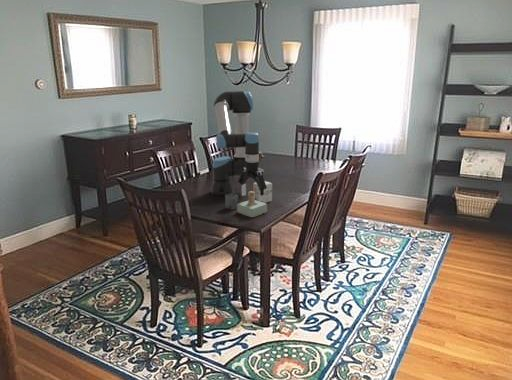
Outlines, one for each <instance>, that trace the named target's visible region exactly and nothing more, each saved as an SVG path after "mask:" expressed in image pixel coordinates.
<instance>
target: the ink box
mask: <svg viewBox="0 0 512 380" xmlns="http://www.w3.org/2000/svg"><path fill="white" fill-rule="evenodd" d="M264 181H265V184H266V187H267V188H266V189H264V195H263V200H262V201H259V187H258V185H257V183H256V182H253V187H252V188H253V190H252V191H254V192H255V200H256V201H259V202H263V203H266V204H267V203H269V202H272V201H273V183H272V182H269V181H266V180H264ZM261 188H262V187H261Z"/></svg>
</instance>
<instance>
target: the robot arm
mask: <svg viewBox="0 0 512 380" xmlns="http://www.w3.org/2000/svg"><path fill="white" fill-rule="evenodd" d="M253 110H254V101H253V96H252V93H251V92H250V91H245V90H242V91H239V90H238V91H237V90H236V91H224V92H221V93H220V94H219V95H218V96H217V97H216V99H214V101H213V112H214V113H215V114H216V115H215V116H216V122H217V123H216V124H217V128H218V129H217V130H218V134H217V135H216V136H215V137H216V138H215V142H216V148H218V149H231V148H235V154H234V155H233V158H231V156H226V155H225V156H220V157H216V158H214V159H213V160H212V186H211V188H210V193H211V194H212V195H213V196H218V197H219V196H224V197H225V195H227V194H230V193H234V192H235V189H234V186H233V183H232V178H235V177H236V178H237V177H238V181H237V182H238V183H239V184H240V190H241V197H244V196H246V195H247V183H246V182H247V181H248V179H249V178H251V179H253V180H254V182H255V183H257V185H258V187H259V201H262V200H263V195H264V189H266V188H267V187H266V184H265V181H266V180H265V179H264V176H263V173H264V172H262V171H260V172H258V168H260V165H259V164H260V162H259V152H260V149H259V148H260V146H259V145H260V143H259V142H260V137H259V136H260V135H259V133H258V132H253V131H252V132H250V130H249V128H250V127H249V126H250V125H249V123H250V121H249V115H250V114H251V113H252V111H253ZM229 111H232V114H233V116H234V122H235V123H234V126H235V127H234V129H235V130H234V131H235V133H233V130H232V126H231V125H232V124H231V123H232V122H231V119H230V118H231V117H230V114H229V113H230V112H229ZM261 187H262V188H261ZM234 194H235V193H234Z"/></svg>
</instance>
